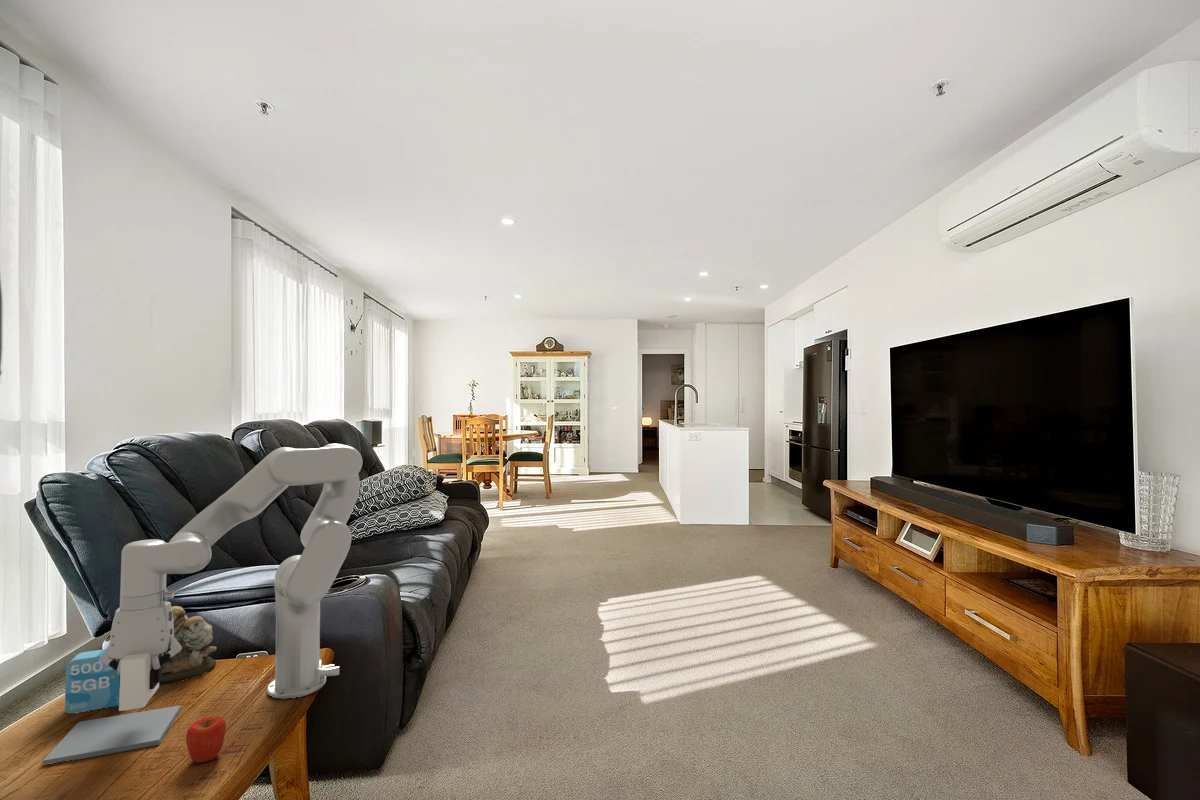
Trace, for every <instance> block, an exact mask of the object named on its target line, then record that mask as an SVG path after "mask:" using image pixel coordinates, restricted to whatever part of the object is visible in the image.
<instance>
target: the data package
mask: <svg viewBox="0 0 1200 800" xmlns="http://www.w3.org/2000/svg"><path fill="white" fill-rule="evenodd" d="M106 649H107V648H104V649H96V650H89V651H84V652H79V653H77V654H76V655H75V656H74V657H73V658H72V659H71V660H70V661H69V662H68V663H67V664H66V666H65V688H64V689H65V690H64V691H65V693H64V694H65V695H64V698H65V699H64V710H65V712H66V713H68V714H69V713H75V712H83V711H88V712H90V711H89V710H94V711H98V710H97V709H100V710H103V709H102V708H105V709H110V708H109V707H111V708H115V707H116V708H117V707H119V696H120V688H119V674H117V671H116V670H114V669H113V668H112V667H110V666H109V665H108V664H104V663H102V662H100V661H99V658H100V656H101V655H102V654H103V653H104V651H105V650H106ZM95 709H96V710H95ZM83 713H84V712H83Z"/></svg>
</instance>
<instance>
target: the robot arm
mask: <svg viewBox="0 0 1200 800" xmlns="http://www.w3.org/2000/svg"><path fill="white" fill-rule="evenodd" d="M362 467H363V457H362V455H361V453H360V452H359V450H358V449H356V448H355V447H353V446H350V445H346V444H342V443H335V442H334V443H329V444H325V445H323V447H319V448H318V447H317V448H294V447H289V446H288V447H287V446H281V447H278V448H276V449H274V450H272V451H271V452H270V453H268V454H267V455H266V456H265V457H264V458H263V459H262V460H261V461H260V462H259V463H257V464H256V465H254V467H253V468H252V469H251V470H249V472H247V473H246V474H245V475H244V476H243V477H242V478H240V479H239V480H238V481H237V482H236V483H235V484H234V485H233V486H232V487H230V488H229V489H228V490H227V491H225V492H224V493H223V494H221V495H220V496H219V497H218V498H217V499H216V500H214V501H213V502H212V503H210V504H209V505H207V506H206V507H205V508H204V509H203V510H202V511H200V512H199V513H198V514H197V515H195V516H194V517H193V518H192V519H191V520H190V521H188V523H186V525H184V526H183V527H182V528H181V529H179V531H178V532H176V534H175V535H173V536H172V537H171V539H170V540H169V542H166V541H164V540H162V539H157V538H156V539H154V538H153V539H143V540H141V539H140V540H136V541H132V542H129V543H126V544H125V545H124V546H123V548H122V550H121V559H120V561H121V563H120V592H119V594H120V596H119V607H118V608H117V609H116V610H115V613H114V617H113V620H112V623H111V628H110V636H109V640H108V641H109V642H108V646H107V648H105V649H106V650H105V651H104V653H103V654H102V655H101V656H100V658H99V661H100V662H102V663H104V664H108V665H109V666H110V667H112V668H113V669H114V670H116V671H117V674H119V688H120V667H121V660H122V659H123V658H124V657H125V656H129V655H138V654H146V653H150V656H151V660H152V665H153V666H152V669H151V671H150V689H154V688H155V686H156V685H157V684H158V683H159V682H160V681H161V670H162V665H163V664H164V663H165V662H166V661H167V660H168V659H169V658H171V657H172V656H174V655H175V654H177V653H178V652H180V651H181V649H182V646H181V645H180V644H179V643H178V641H177V640H176V639H175V638H174V622H173V613H172V607H173V606H172V603H171V602H170V601H169V600H174V598H175V592H173V591H172V592H171V591H168V588H167V575H186V574H193V573H197V572H200V571H201V570H203V569H204V568H205V567H206V566H208V565H209V563H210V561H211V560H212V555H213V554H212V546H213V545H214V544H216V543H217V542H218V540H219V539H221V538H222V537H223V536H224V535H225V534H226V533H228V532H229V531H230V530H231V529H233V528H234V527H236V526H237V525H239V524H241V523H244V522H246V521H249V520H252V519H254V518H255V517H257V516H259V514H260V513H262V512H264V510H265V509H266V508H267V507H268V506H269V505H270V504H271V503H272V502H273V501H274V500H275V499H277V497H279V496H280V495H281V494H282V493H283V492H284V491H285V490H286V489H287V488H288V487H289V486H293V487H294V486H295V487H296V486H306V485H308V486H309V485H317V484H323V488H322V490H321V494H320V496H319V498H318V500H317V502H316V504H315V506H314V508H313V510H312V511H311V513H310V515H309V516H308V519H307V521H306V522H305V524H304V526H303V527H302V529H301V532H300V542H301V544H302V546H303V547H304V549H303V551H302V553H301V554H297V555H296V554H295V555H292V556H289V557H288V558H286V559H285V560H283V561H282V562H281V563H280V564H279V566H278V567H277V568H276V569H277V570H276V572H275V574H274V582H273V583H274V585H273V586H274V596H275V598H274V599H275V660H274V662H275V668H274V672H275V673H274V674H275V676H274V680H272V681H271V682H270V683H269V684H268V686H267V695H268V694H269V695H270V696H272V697H271V698H273V697H275V698H274V699H276V698H292V699H297V698H296V697H298V698H301V697H304V696H308V695H310V694H313V693H315V692H317V691H318V690H320V689H322V688H323V686H325V684H326V682H327V677H334V676H339V675H340V666H335V663H334V664H333V663H331V664H327V665H325V664H323V663H322V661H323V660H322V659H320V648H321V646H320V645H321V641H320V640H321V639H320V638H321V632H320V631H321V601H322V599H323V598H324V597H325V596H326V595H327V593H328V592H329V591H330V589H331V587H332V586H333V583H334V581H335V579H336V577H337V575H338V574H339V572H340V569H341V568H342V565H343V564H344V562H345V560H346V558H347V555H348V553H349V550H350V548H351V544H352V533H351V530H350V528H349V526H348V525H347V523H348V521H349V519H350V516H351V514H352V512H353V510H354V507H355V506H356V503H357V501H358V499H359V495H360V487H361V486H360V485H361V483H360V475H359V473H360V472H361V469H362ZM168 646H169V647H170V648H171V650H170V651H168V652H167V653H165V654H164V655H163V653H164V652H166V651H167V649H168ZM269 695H268V696H269ZM270 696H269V697H270Z"/></svg>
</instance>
